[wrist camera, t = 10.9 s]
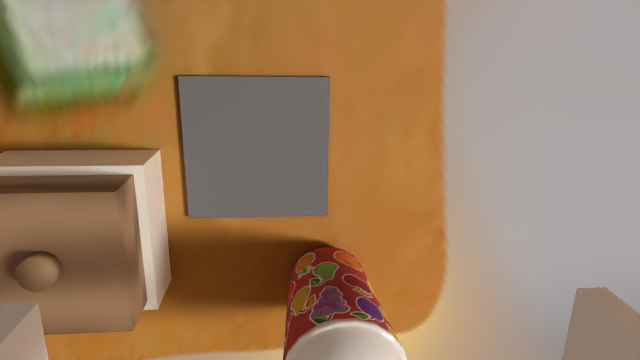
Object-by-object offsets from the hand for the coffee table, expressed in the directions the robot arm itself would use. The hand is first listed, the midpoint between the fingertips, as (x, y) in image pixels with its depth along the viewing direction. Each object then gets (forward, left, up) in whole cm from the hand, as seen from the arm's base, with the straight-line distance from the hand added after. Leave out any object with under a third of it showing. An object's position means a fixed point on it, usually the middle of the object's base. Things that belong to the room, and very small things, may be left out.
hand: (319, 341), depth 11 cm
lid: (+8, -17, -24) cm, 30 cm away
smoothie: (+14, +3, -29) cm, 32 cm away
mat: (+2, -3, -29) cm, 29 cm away
